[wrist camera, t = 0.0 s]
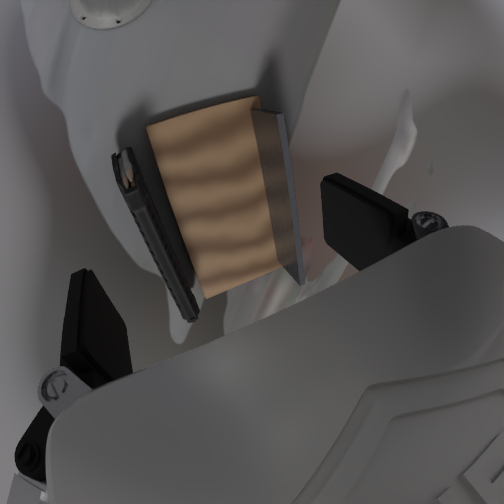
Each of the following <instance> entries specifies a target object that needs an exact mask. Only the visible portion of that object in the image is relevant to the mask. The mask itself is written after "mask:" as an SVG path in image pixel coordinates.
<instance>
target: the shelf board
mask: <svg viewBox="0 0 504 504" xmlns="http://www.w3.org/2000/svg"><path fill="white" fill-rule="evenodd" d="M255 108H256V109H262V107H261V102H260V97H259V95H254V96H249V97H245V98H240V99H236V100H232V101H228V102H224V103H220V104H216V105H212V106H208V107H205V108H201V109H198V110H194V111H191V112H187V113H184V114H181V115H178V116H174V117H171V118H168V119H165V120H162V121H159V122H156V123H153V124H151V125H148V126H146V130H147V133H148V136H149V140H150V143H151V146H152V149H153V153H154V156H155V159H156V162H157V165H158V168H159V171H160V174H161V178H162V181H163V184H164V187H165V190H166V193H167V196H168V198H169V201H170V204H171V207H172V210H173V213H174V216H175V219H176V221H177V224H178V227H179V230H180V233H181V235H182V238H183V241H184V244H185V246H186V249H187V252H188V254H189V257H190V260H191V262H192V265H193V267H194V270H195V273H196V275H197V278H198V280H199V283H200V285H201V288H202V291H203V293H204V295H205V298H206V299H207V298H210V297H212V296H214V295H217V294H219V293H222V292H224V291H227V290H229V289H231V288H234V287H236V286H238V285H241V284H243V283H245V282H248V281H250V280H252V279H255V278H257V277H259V276H262V275H264V274H266V273H269V272H271V271H273V270H276V269H278V268H280V267H283V266H282V265H281V264H280V263H279V262H278V260H277V254H276V248H275V243H274V237H273V231H272V225H271V219H270V214H269V208H268V202H267V197H266V191H265V186H264V180H263V175H262V169H261V164H260V159H259V153H258V148H257V143H256V138H255V133H254V127H253V122H252V117H251V112H250V110H251V109H255Z"/></svg>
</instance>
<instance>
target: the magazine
mask: <svg viewBox="0 0 504 504" xmlns="http://www.w3.org/2000/svg"><path fill="white" fill-rule="evenodd" d="M111 158H112V165H113V171H114V174H115V178H116V182H117V184H118V186H119V189H120V191H121V193H122V195H123V197H124V199H125V202H126V203H127V205H128V207H129V209H130V212H131V213H132V216H133V218H134V220H135V222H136V224H137V226H138V228H139V231H140V232H141V234H142V236H143V238H144V240H145V243H146V245H147V247H148V249H149V251H150V253H151V255H152V257H153V259H154V261H155V263H156V265H157V267H158V269H159V271H160V273H161V275H162V277H163V279H164V281H165V283H166V285H167V287H168V289H169V291H170V293H171V295H172V297H173V299H174V301H175V303H176V305H177V307H178V309H179V311H180V312H181V315H182V318H183V319H185V320H187V322H188V323H191V322H192V323H193V322H195V320H197V319H198V314H199V312H200V310H199V307H198V305H197V302H196V299H195V297H194V294H192V291H191V289H190V287H189V285H188V283H187V281H186V278H185V276H184V274H183V272H182V269H181V267H180V265H179V263H178V260H177V258H176V256H175V254H174V251H173V249H172V247H171V244H170V242H169V240H168V237H167V235H166V233H165V230H164V228H163V226H162V223H161V221H160V219H159V216H158V214H157V211H156V209H155V206H154V204H153V202H152V199H151V197H150V194H149V192H148V189H147V187H146V184H145V182H144V179H143V177H142V174H141V171H140V168H139V165H138V163H137V160H136V158H135V155H134V152H133V150H132V148H131V147H127V148H126V150H123V151H122V152H121V153H119V154H118V155H117V156H116V153H114V154H112V156H111Z"/></svg>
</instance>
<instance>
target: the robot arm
mask: <svg viewBox="0 0 504 504" xmlns="http://www.w3.org/2000/svg"><path fill="white" fill-rule="evenodd" d="M151 2H152V0H71V9H72V13H73V15H74V16H75V18H76V19H77V20H78V21H79V22H80V23H81V24H83V25H84V26H87V27H89V28H92V29H98V30H107V29H114V28H117V27H121V26H123V25H126V24H128V23H130V22H132V21H133V20H135V19H136V18H138V17H139V16H140V15H141V14H142V13H143V12H144V11H145V10H146V9H147V8H148V6H149V5H150V3H151ZM83 18H86V19H85V20H83ZM118 21H120V23H119V24H118V23H117V22H118ZM320 187H321V199H322V213H323V229H324V239H325V241H326V243H327V244H328V245H329V246H330V247H331V248H332V249H334V250H335V251H336V252H337V253H338V254H340V255H341V256H342V257H343V258H344V259H346V260H347V261H348V262H349V263H350V264H352V265H353V266H354V267H355V268H356V269H357V270H359V272H358V273H356V274H354V275H352V276H350V277H348V278H346V279H344V280H342V281H340V282H338V283H336V284H334V285H332V286H330V287H328V288H327V289H325V290H323V291H321V292H319V293H316V294H314V295H312V296H310V297H308V298H306V299H304V300H302V301H300V302H298V303H296V304H294V305H292V306H290V307H288V308H285V309H283V310H281V311H279V312H277V313H275V314H273V315H270V316H268V317H266V318H264V319H262V320H259V321H257V322H255V323H253V324H251V325H248V326H246V327H244V328H242V329H239V330H237V331H235V332H232V333H230V334H228V335H225V336H223V337H221V338H218V339H216V340H214V341H211V342H209V343H207V344H204V345H202V346H200V347H197V348H195V349H192V350H190V351H187V352H185V353H182V354H180V355H177V356H175V357H172V358H170V359H167V360H165V361H162V362H160V363H157V364H155V365H152V366H149V367H147V368H144V369H142V370H139V371H137V372H134V373H133V370H132V364H131V357H130V351H129V344H128V336H127V328H126V325H125V323H124V321H123V319H122V318H121V316H120V314H119V313H118V311H117V310H116V308H115V307H114V305H113V304H112V302H111V301H110V299H109V297H108V296H107V294H106V293H105V291H104V289H103V288H102V286H101V285H100V283H99V281H98V279H97V277H96V276H95V274H94V272H93V271H92V270H89V271H88V270H86V269H85V268H84V269H82V270H79V271H77V272H75V273H73V274H71V279H70V285H69V290H68V297H67V304H66V311H65V317H64V323H63V332H62V342H61V354H60V366H58V367H54V368H52V369H51V370H49V371H48V372H47V373H46V374H45V375H44V376H43V377H42V379H41V381H40V383H39V386H38V398H39V400H40V401H41V403H42V404H43V407H42V408H41V409H40V411H39V412H38V414H37V416H36V417H35V418H34V420H33V421H32V423H31V424H30V426H29V427H28V429H27V430H26V432H25V433H24V435H23V437H22V438H21V440H20V441H19V443H18V445H17V447H16V451H15V463H16V466H17V468H18V470H19V475H17V474H14V478H13V481H12V485H11V489H10V493H9V497H8V501H7V504H504V242H503V241H501V240H500V239H498V238H497V237H495V236H493V235H492V234H490V233H488V232H486V231H484V230H482V229H480V228H478V227H475V226H469V225H468V226H467V225H465V226H464V225H462V226H453V227H449V226H448V223H447V221H446V220H445V219H444V218H443V217H442V216H440V215H438V214H436V213H433V212H428V211H421V212H417V213H415V214H414V215H413V216H412V219H409V218H408V211H409V210H408V209H406V208H404V207H403V206H401V205H399V204H397V203H395V202H394V201H392V200H390V199H388V198H386V197H385V196H383V195H381V194H379V193H377V192H375V191H373V190H371V189H369V188H367V187H365V186H363V185H361V184H359V183H357V182H355V181H353V180H351V179H349V178H347V177H345V176H343V175H341V174H339V173H334V174H331V175H328V176H325V177H324V178H323V181H321V184H320Z"/></svg>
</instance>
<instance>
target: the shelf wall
mask: <svg viewBox="0 0 504 504" xmlns="http://www.w3.org/2000/svg"><path fill="white" fill-rule="evenodd" d="M250 112H251V117H252V122H253V127H254V133H255V138H256V143H257V148H258V153H259V159H260V164H261V169H262V175H263V180H264V186H265V191H266V197H267V202H268V208H269V214H270V219H271V225H272V231H273V237H274V243H275V248H276V254H277V260H278V262H279V263H280V264H281V265H282V266H283V267H284V268H285V269H286V271H287V272H288V273H289V274H290V275H291V276H292V277H293V278H294V280H295V281H296V282H297V283H298V284H299V285H300V286H301V285H303V284H305V279H304V268H303V258H302V248H301V239H300V230H299V221H298V213H297V205H296V196H295V189H294V181H293V174H292V166H291V159H290V153H289V146H288V139H287V132H286V126H285V120H284V114H283V113H280V112H274V111H268V110H263V109H256V108H255V109H251V110H250Z"/></svg>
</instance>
